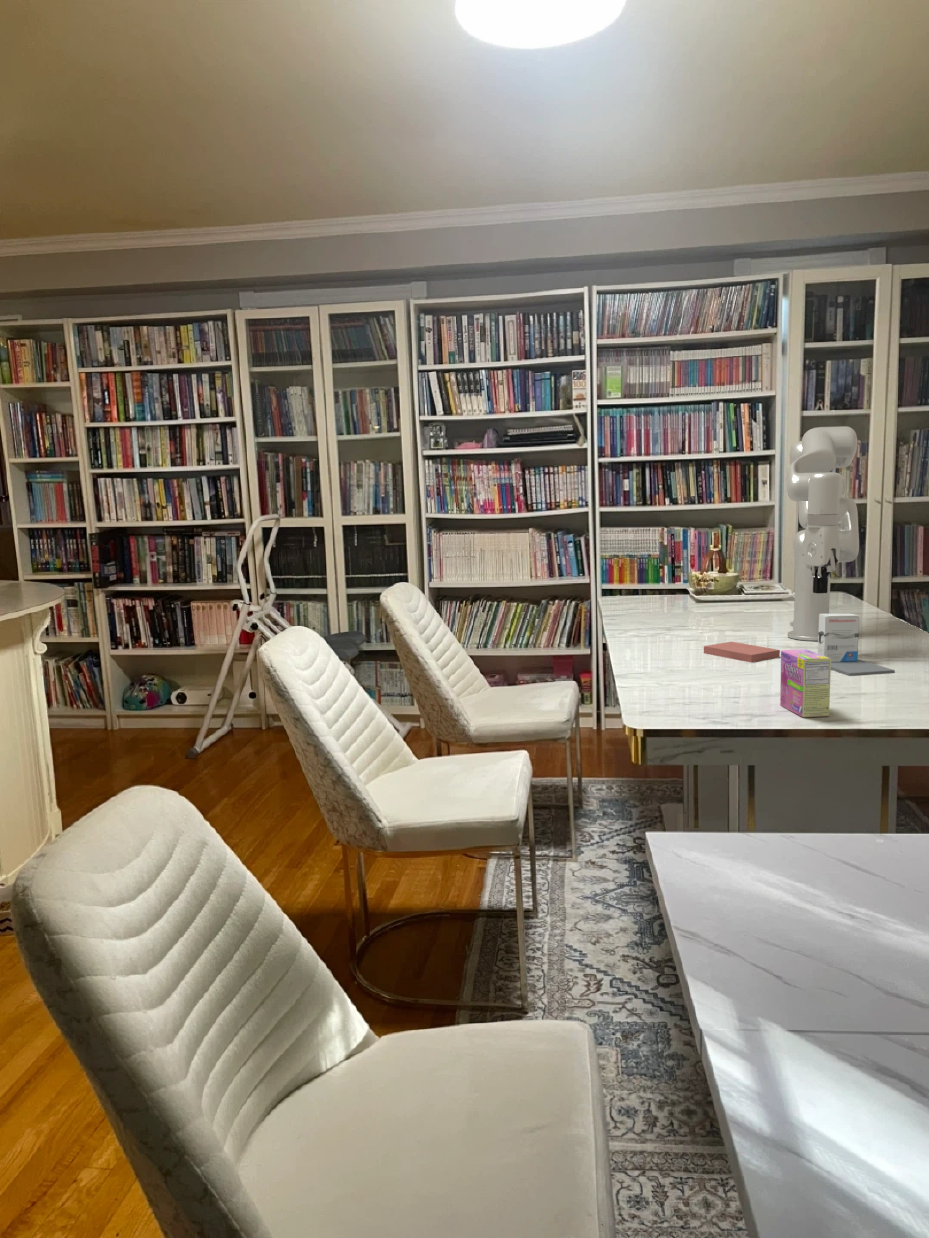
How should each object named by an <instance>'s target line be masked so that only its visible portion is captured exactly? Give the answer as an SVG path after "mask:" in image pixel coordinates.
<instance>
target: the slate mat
mask: <svg viewBox="0 0 929 1238" xmlns="http://www.w3.org/2000/svg"><path fill="white" fill-rule="evenodd" d="M831 671H834V672H838V673H840V674H843V675H845V676H849V677H852V676H862V675H863V676H864V675H868V676H869V675H879V674H880V675H881V674H895V673H896V672H895V669H892V668H889V667H886V666H882V665H880V664H876V663H872V662H869V661H866V660H863V659H862V660H861V659H859V658H858V661H857V662H831Z"/></svg>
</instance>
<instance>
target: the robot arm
mask: <svg viewBox="0 0 929 1238" xmlns="http://www.w3.org/2000/svg"><path fill="white" fill-rule="evenodd" d="M857 449H858V437H857V433H856V431H855V429H853V428H852V427H850V426H847V425H846V426H819V427H813V428H811V429H809V430H807V431H806V432H805V433H804V434H803V436H802V438H801V440H800V441H797V442H795V443H794V444H792V446H791V447H790V449H789V464H790V465H789V467H788V470H787V474H786V492H787V496H788V498H789V499H790V500H791V501H793V502H798V503H797V504H798V505H797V506H798V507H797V508H798V509H797V511H798V514H797V515H798V522H799V524H800V526H801V527H802V528H803V529H802V530H799V531H798V532H796V534H795V535H794V537H793V542H792V549H793V555H794V556H793V557H794V571H795V575H794V576H795V577H794V578H795V579H794V609H793V619H792V621H790V623H789V626H790V627H792V630H790V631H788V632H787V637H788V638H790V639H794V640H800V641H815V642H818V632H819V614H830V601H831V599H830V597H831V595H830V594H831V592H830V591H831V576H830V575H831V573H833V572H835V571H836V566H838V565H839V563H850V562H853V561H855V560H856V559H857V557H858V555H859V552H860V538H859V536H860V535H859V534H860V533H859V515H858V507H857V506H858V505H857V503H856V501H855V500H854V499H853V498H851V497H847V496H844V495H845V492H846V486H847V485H846V480H845V478H844V477H843V476H842V474H841V473H838V472H833V469H842V468H848V467H849V466H850V465H851V464H852V463H853V460H854V457H855V455H856V453H857ZM831 471H832V472H831Z"/></svg>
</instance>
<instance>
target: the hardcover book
mask: <svg viewBox="0 0 929 1238" xmlns="http://www.w3.org/2000/svg"><path fill="white" fill-rule="evenodd" d="M703 654H705V655H711V656H716V657H721V658H725V659H731V660H737V661H740V662H746V663H751V664H752V663H757V662H762V661H768V660H772V659H779V658H781V650H780V649H778V648H777V649H776V648H770V647H765V646H759V645H755V644H753V645H752V644H748V643H742V642H737V641H727V642H721V643H715V644H708V645H704V646H703Z"/></svg>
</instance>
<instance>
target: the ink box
mask: <svg viewBox="0 0 929 1238" xmlns="http://www.w3.org/2000/svg"><path fill="white" fill-rule="evenodd" d="M859 633H860V615H857V614H855V613H854V614H853V613H848V612H847V613H829V614H819V632H818V641H817V654H820V655H823V656H825V657H828V658H831V662H857V661H858V659H859V658H858V657H859V639H860V638H859Z"/></svg>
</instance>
